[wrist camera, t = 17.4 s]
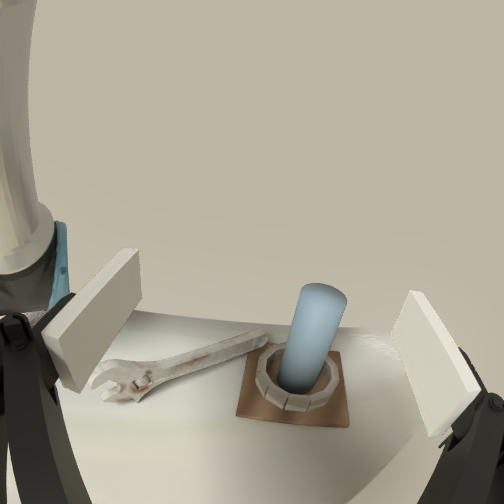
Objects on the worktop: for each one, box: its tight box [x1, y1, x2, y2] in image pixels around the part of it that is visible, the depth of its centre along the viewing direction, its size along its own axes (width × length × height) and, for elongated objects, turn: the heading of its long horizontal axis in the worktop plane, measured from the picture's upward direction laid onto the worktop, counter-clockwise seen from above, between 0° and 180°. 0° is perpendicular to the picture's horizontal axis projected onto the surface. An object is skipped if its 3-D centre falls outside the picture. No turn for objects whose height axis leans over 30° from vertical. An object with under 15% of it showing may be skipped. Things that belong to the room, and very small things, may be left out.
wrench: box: [88, 329, 269, 403], centre depth 40 cm, size 8×2×30 cm
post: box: [277, 283, 347, 395], centre depth 39 cm, size 6×6×16 cm
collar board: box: [236, 342, 349, 427], centre depth 42 cm, size 16×16×3 cm
